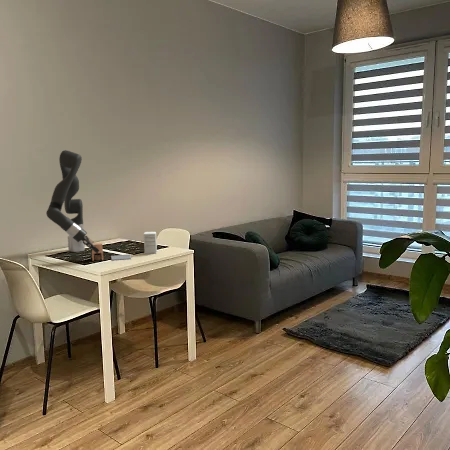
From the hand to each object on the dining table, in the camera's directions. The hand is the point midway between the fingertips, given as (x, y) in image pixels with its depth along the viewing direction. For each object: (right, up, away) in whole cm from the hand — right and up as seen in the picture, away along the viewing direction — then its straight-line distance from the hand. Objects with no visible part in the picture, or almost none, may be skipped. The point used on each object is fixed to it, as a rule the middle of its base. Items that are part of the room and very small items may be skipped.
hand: (98, 250), depth 265 cm
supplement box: (+28, -3, +18) cm, 33 cm away
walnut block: (0, -5, +1) cm, 6 cm away
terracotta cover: (0, -5, +1) cm, 5 cm away
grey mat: (+12, -5, +4) cm, 14 cm away
